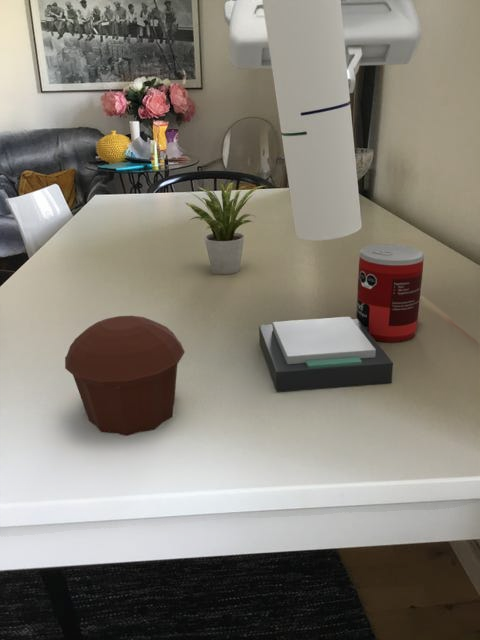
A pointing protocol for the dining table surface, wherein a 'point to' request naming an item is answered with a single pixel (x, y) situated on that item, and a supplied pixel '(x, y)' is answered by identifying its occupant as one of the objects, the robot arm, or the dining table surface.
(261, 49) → the robot arm
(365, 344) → the kitchen scale
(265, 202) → the dining table surface
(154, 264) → the dining table surface
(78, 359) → the muffin
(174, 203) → the dining table surface
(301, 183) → the cylindrical container
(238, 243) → the house plant
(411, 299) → the canned food
